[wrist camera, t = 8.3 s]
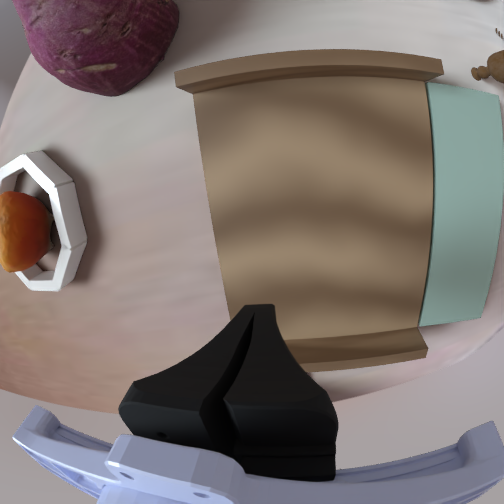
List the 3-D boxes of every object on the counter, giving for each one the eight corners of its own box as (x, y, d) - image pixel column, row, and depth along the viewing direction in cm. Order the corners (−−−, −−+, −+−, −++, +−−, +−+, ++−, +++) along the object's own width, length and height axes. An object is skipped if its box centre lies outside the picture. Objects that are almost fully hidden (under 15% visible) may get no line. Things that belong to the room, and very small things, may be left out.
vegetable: (108, 20, 18) (9, -41, 3) (198, -4, 15) (106, -114, 1) (75, 109, 19) (-60, 71, 5) (166, 95, 17) (-6, -5, 2)
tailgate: (416, 318, 22) (475, 311, 20) (419, 326, 21) (480, 317, 19) (421, 84, 15) (490, 96, 13) (427, 81, 14) (498, 95, 12)
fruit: (67, 277, 24) (-2, 294, 17) (50, 243, 27) (-7, 253, 21) (67, 200, 20) (-14, 211, 14) (51, 178, 24) (-12, 184, 18)
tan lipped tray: (410, 327, 22) (425, 357, 18) (239, 340, 25) (230, 373, 21) (415, 71, 14) (441, 59, 11) (196, 84, 17) (174, 72, 13)
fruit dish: (100, 279, 25) (86, 291, 22) (27, 280, 27) (15, 289, 25) (67, 137, 20) (48, 139, 17) (-1, 174, 22) (-16, 179, 20)
